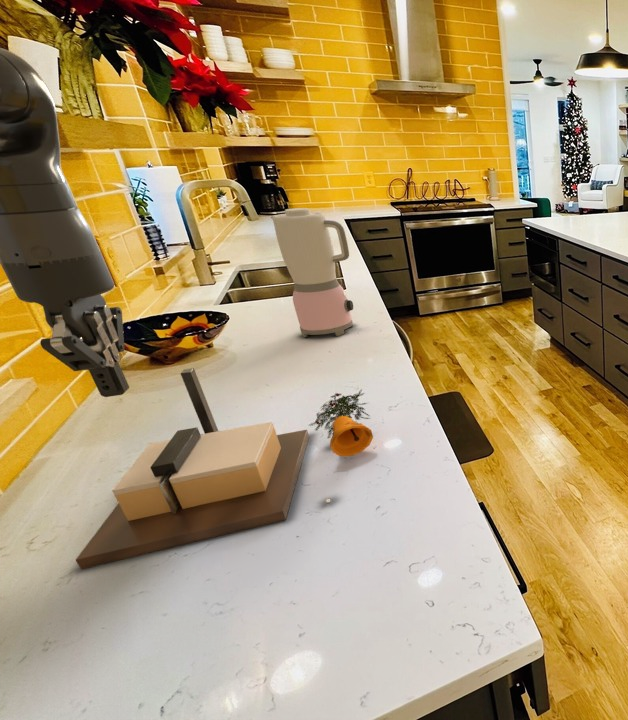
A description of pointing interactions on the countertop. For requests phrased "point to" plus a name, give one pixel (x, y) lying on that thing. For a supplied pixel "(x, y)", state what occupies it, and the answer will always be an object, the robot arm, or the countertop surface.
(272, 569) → the countertop surface
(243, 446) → the tan rounded box
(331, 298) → the blender
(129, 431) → the countertop surface
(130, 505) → the slice
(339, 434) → the christmas decoration
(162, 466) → the knife
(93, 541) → the board
